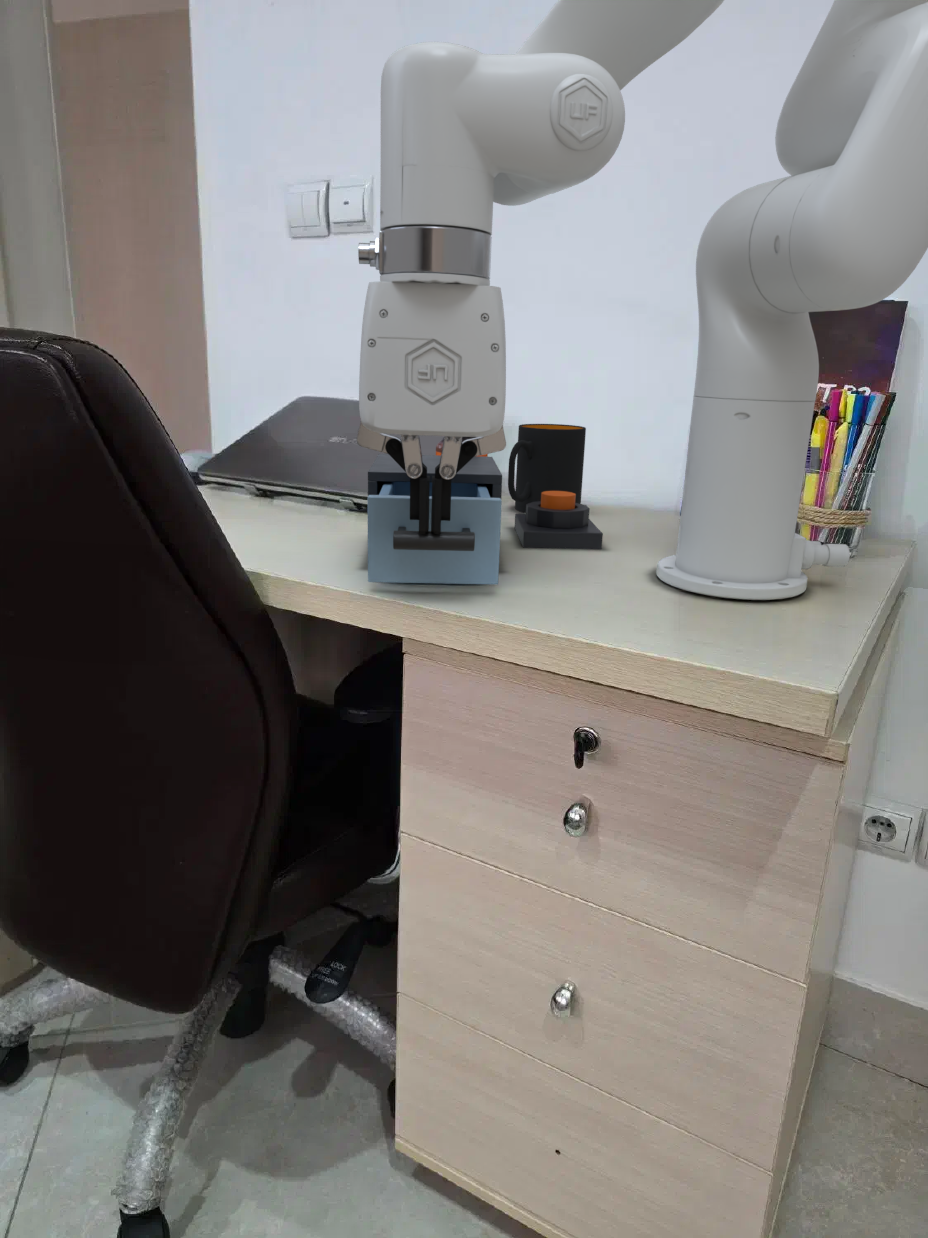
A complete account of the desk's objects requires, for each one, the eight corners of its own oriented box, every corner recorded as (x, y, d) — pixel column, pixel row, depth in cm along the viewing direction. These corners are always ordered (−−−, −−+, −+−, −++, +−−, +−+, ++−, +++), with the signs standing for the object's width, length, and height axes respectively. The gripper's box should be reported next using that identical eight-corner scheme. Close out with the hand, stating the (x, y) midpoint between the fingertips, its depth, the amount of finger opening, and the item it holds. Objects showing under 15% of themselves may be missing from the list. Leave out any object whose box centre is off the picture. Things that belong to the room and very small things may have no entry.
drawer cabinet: (498, 571, 74) (502, 474, 71) (368, 568, 74) (367, 471, 71) (489, 539, 87) (492, 456, 84) (378, 537, 87) (378, 453, 84)
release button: (571, 507, 89) (572, 491, 89) (577, 513, 86) (578, 496, 85) (538, 506, 89) (539, 490, 89) (542, 512, 86) (543, 495, 85)
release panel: (584, 529, 93) (587, 499, 92) (601, 549, 84) (604, 515, 83) (514, 528, 93) (515, 497, 92) (523, 547, 83) (524, 513, 82)
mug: (481, 512, 102) (484, 426, 99) (541, 502, 110) (546, 422, 107) (534, 522, 97) (539, 431, 94) (593, 510, 105) (599, 427, 102)
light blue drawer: (502, 599, 62) (506, 510, 60) (363, 597, 62) (362, 506, 60) (488, 549, 78) (491, 477, 76) (378, 547, 78) (378, 474, 76)
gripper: (317, 253, 52) (322, 538, 58) (552, 262, 53) (535, 543, 58) (331, 265, 59) (334, 518, 65) (538, 273, 60) (524, 523, 66)
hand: (429, 529), depth 62 cm, fingers closed
